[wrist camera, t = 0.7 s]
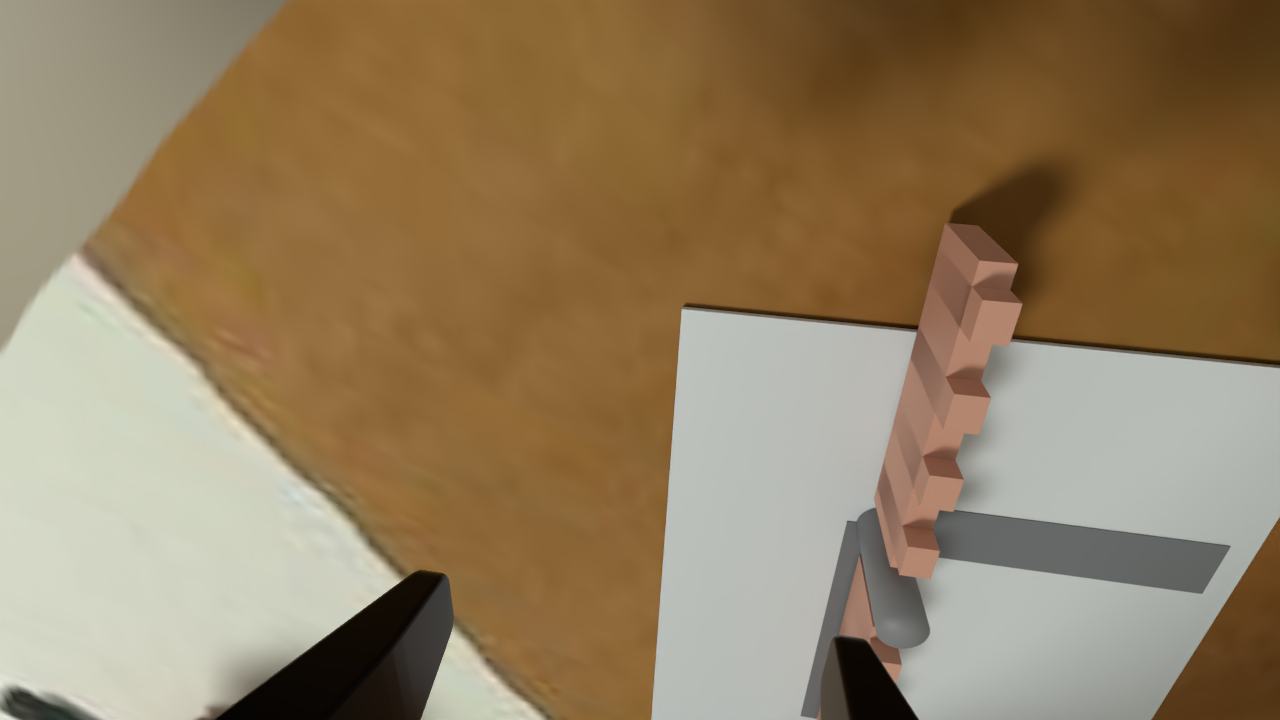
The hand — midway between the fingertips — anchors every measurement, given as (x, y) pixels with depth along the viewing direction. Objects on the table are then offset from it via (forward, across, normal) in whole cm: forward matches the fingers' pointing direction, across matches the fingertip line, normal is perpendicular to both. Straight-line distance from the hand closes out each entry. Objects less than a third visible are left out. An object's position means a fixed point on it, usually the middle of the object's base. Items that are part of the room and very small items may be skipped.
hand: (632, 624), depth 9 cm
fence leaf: (+12, -7, +2) cm, 13 cm away
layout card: (+12, -8, +10) cm, 18 cm away
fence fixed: (+12, -7, +12) cm, 18 cm away
